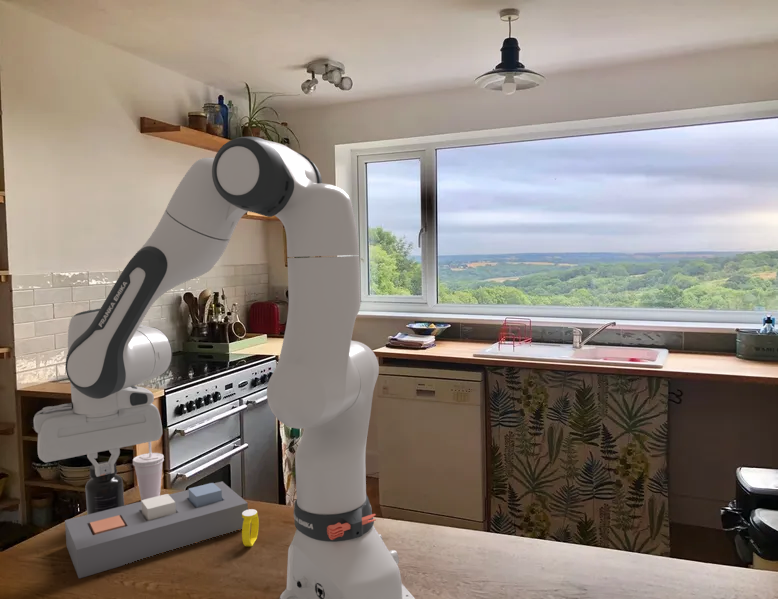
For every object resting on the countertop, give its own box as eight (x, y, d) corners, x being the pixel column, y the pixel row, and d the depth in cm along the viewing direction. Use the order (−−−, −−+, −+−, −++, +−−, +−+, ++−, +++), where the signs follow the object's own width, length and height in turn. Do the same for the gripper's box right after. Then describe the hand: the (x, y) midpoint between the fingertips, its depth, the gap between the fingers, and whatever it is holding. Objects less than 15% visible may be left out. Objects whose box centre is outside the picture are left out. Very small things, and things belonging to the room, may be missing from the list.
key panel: (223, 503, 129) (222, 481, 129) (248, 527, 118) (247, 502, 117) (66, 546, 112) (64, 520, 111) (78, 578, 100) (76, 549, 100)
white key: (169, 515, 118) (167, 493, 118) (176, 524, 114) (175, 502, 114) (142, 522, 115) (141, 500, 115) (149, 532, 111) (147, 509, 111)
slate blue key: (213, 503, 123) (212, 482, 123) (222, 511, 119) (221, 490, 119) (189, 509, 120) (188, 488, 120) (197, 518, 116) (196, 496, 116)
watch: (254, 551, 109) (252, 521, 108) (239, 551, 109) (236, 521, 108) (263, 533, 115) (261, 504, 114) (248, 533, 115) (247, 504, 114)
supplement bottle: (87, 520, 123) (83, 463, 122) (123, 512, 126) (120, 456, 125) (88, 533, 117) (84, 473, 116) (126, 525, 120) (123, 467, 119)
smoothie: (155, 507, 128) (151, 443, 127) (128, 505, 129) (124, 442, 128) (171, 495, 134) (168, 434, 133) (146, 493, 136) (142, 433, 134)
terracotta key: (120, 537, 113) (119, 515, 113) (126, 548, 109) (125, 524, 108) (91, 545, 110) (89, 522, 110) (96, 556, 106) (94, 532, 106)
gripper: (34, 412, 99) (40, 494, 100) (162, 392, 110) (167, 465, 111) (30, 405, 104) (36, 483, 105) (153, 387, 116) (157, 457, 117)
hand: (104, 474), depth 108 cm, fingers closed
